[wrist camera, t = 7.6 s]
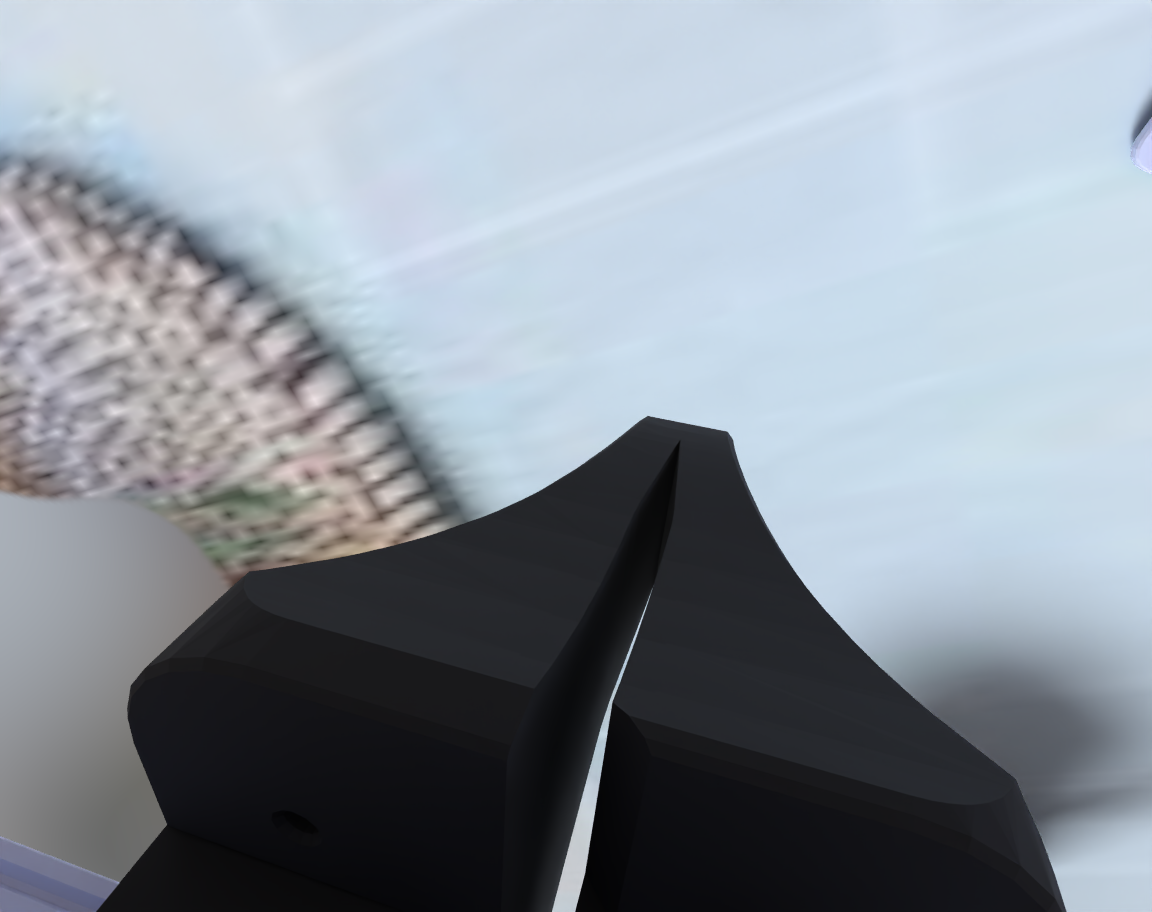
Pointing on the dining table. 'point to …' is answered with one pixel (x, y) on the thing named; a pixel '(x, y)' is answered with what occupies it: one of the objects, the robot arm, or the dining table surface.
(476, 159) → the dining table surface
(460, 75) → the dining table surface
